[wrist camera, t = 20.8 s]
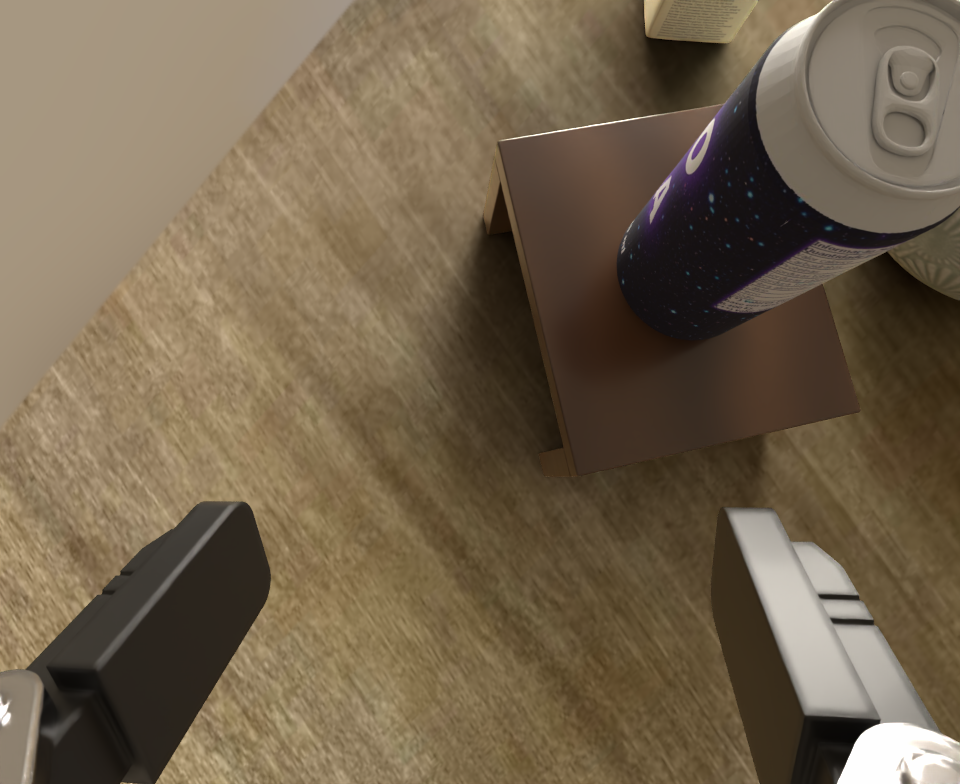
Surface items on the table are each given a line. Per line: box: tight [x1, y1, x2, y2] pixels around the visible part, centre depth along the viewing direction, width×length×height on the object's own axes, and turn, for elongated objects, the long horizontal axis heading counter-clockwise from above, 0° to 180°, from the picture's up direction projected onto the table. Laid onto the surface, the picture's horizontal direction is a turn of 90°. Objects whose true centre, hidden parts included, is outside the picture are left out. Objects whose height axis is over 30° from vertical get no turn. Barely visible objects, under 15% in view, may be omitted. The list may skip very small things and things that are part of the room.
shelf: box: [483, 104, 861, 477], centre depth 28 cm, size 12×14×7 cm
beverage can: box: [617, 0, 960, 340], centre depth 18 cm, size 6×6×12 cm
